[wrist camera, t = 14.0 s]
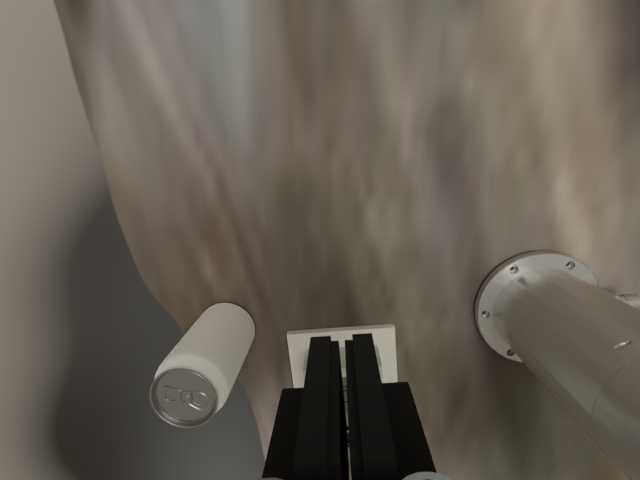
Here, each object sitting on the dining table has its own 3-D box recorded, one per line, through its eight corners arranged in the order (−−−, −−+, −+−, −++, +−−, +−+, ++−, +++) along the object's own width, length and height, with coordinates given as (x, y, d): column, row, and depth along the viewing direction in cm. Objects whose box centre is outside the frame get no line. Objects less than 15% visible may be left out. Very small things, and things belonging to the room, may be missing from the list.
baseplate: (393, 323, 38) (394, 327, 38) (398, 414, 41) (399, 419, 41) (287, 330, 39) (286, 334, 38) (299, 419, 42) (298, 424, 41)
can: (253, 356, 40) (219, 438, 29) (198, 347, 40) (143, 425, 29) (259, 305, 39) (225, 371, 27) (202, 296, 39) (144, 358, 27)
